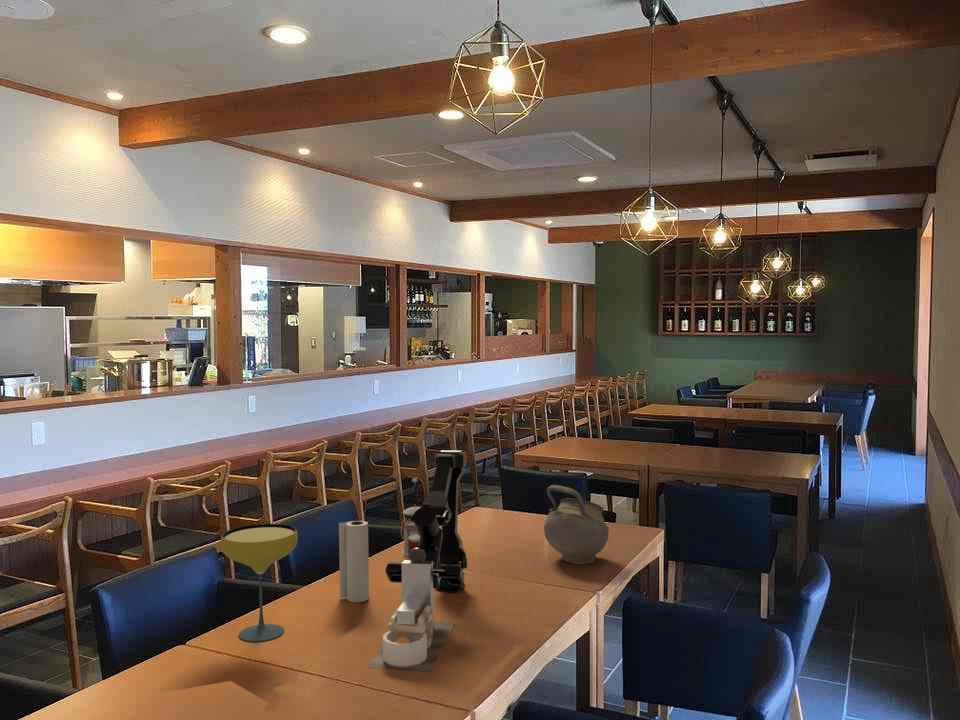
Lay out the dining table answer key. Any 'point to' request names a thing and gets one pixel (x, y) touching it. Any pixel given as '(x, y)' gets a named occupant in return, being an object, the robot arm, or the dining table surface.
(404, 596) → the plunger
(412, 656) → the cup
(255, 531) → the cocktail glass
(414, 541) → the canned food
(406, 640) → the ball
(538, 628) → the dining table surface
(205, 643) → the dining table surface
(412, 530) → the french press
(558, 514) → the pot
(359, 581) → the paper towel roll
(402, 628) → the launcher
